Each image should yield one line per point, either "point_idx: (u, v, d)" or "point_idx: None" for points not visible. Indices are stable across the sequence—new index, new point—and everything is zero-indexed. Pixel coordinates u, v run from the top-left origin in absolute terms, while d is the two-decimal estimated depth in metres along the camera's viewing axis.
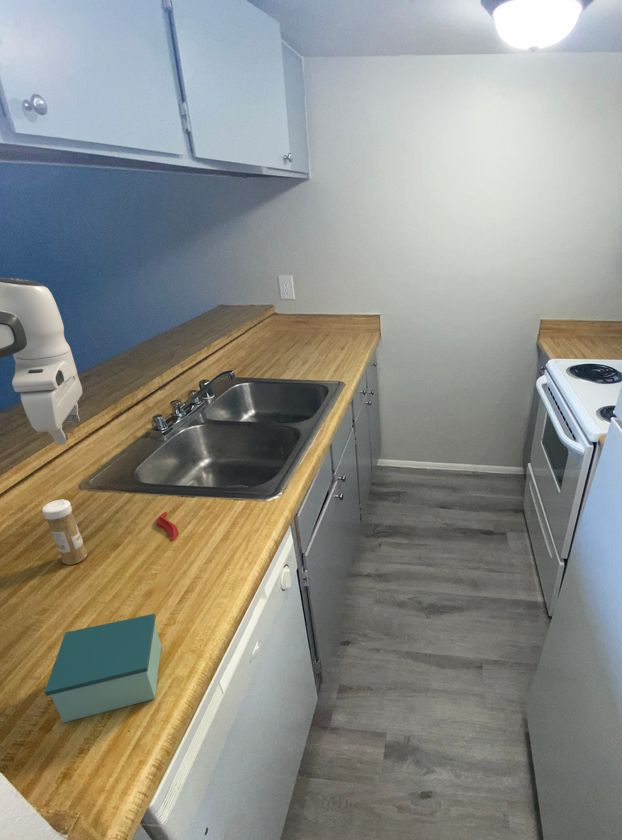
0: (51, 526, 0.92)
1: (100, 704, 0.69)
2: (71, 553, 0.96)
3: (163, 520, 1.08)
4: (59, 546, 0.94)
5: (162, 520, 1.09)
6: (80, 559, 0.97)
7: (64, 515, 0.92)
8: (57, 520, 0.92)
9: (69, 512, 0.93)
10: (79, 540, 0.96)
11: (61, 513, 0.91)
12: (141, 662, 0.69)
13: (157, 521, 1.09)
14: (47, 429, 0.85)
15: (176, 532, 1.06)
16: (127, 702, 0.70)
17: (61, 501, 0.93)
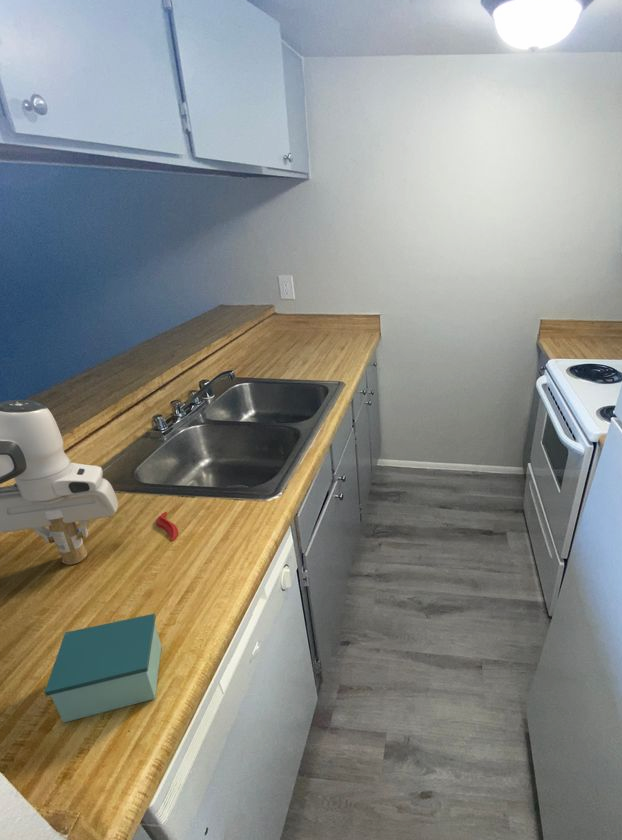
0: (51, 526, 0.92)
1: (100, 704, 0.69)
2: (71, 553, 0.96)
3: (163, 520, 1.08)
4: (59, 546, 0.94)
5: (162, 520, 1.09)
6: (80, 559, 0.97)
7: None
8: (57, 520, 0.92)
9: None
10: (78, 540, 0.96)
11: (60, 513, 0.91)
12: (141, 662, 0.69)
13: (157, 521, 1.09)
14: (117, 508, 0.97)
15: (176, 532, 1.06)
16: (127, 702, 0.70)
17: None
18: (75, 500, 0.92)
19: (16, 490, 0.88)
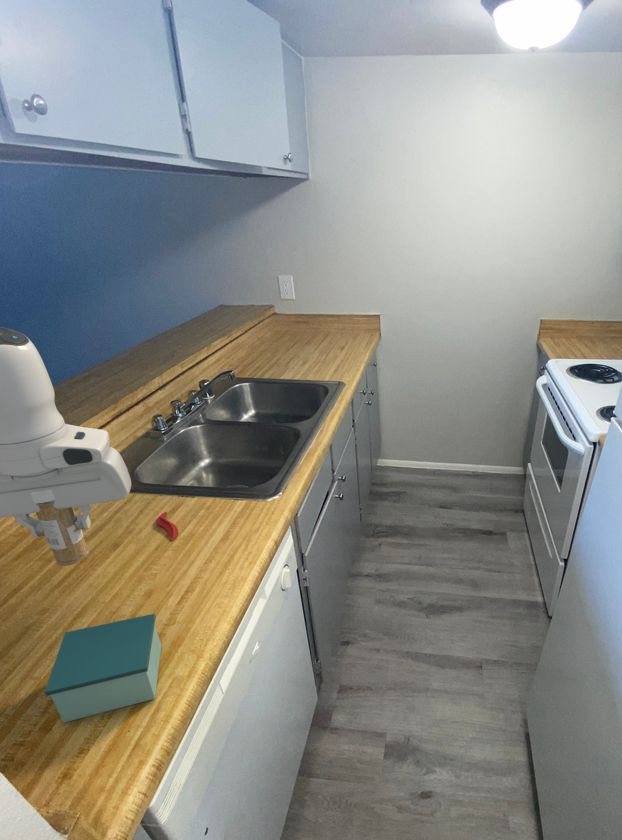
0: (38, 512, 0.66)
1: (100, 704, 0.69)
2: (67, 551, 0.70)
3: (163, 520, 1.08)
4: (50, 540, 0.68)
5: (162, 520, 1.09)
6: (80, 558, 0.71)
7: None
8: (47, 504, 0.66)
9: None
10: (77, 532, 0.70)
11: (52, 494, 0.65)
12: (141, 662, 0.69)
13: (157, 521, 1.09)
14: (130, 488, 0.71)
15: (176, 532, 1.06)
16: (127, 702, 0.70)
17: None
18: (72, 476, 0.66)
19: None
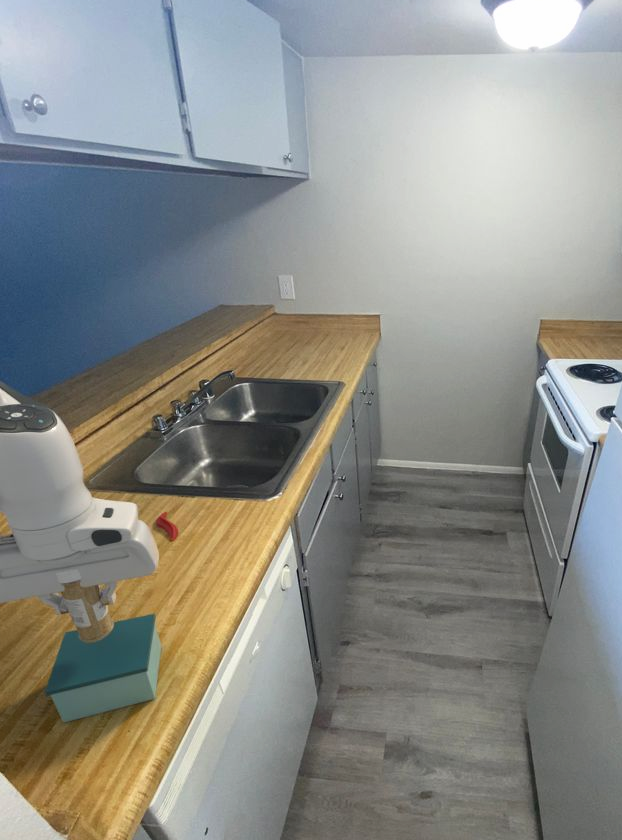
0: (63, 592, 0.63)
1: (100, 704, 0.69)
2: (92, 628, 0.66)
3: (163, 520, 1.08)
4: (75, 619, 0.65)
5: (162, 520, 1.09)
6: (104, 634, 0.68)
7: None
8: (73, 583, 0.62)
9: None
10: (103, 608, 0.67)
11: (78, 573, 0.62)
12: (141, 662, 0.69)
13: (157, 521, 1.09)
14: None
15: (176, 532, 1.06)
16: (127, 702, 0.70)
17: None
18: (100, 554, 0.62)
19: (12, 542, 0.59)
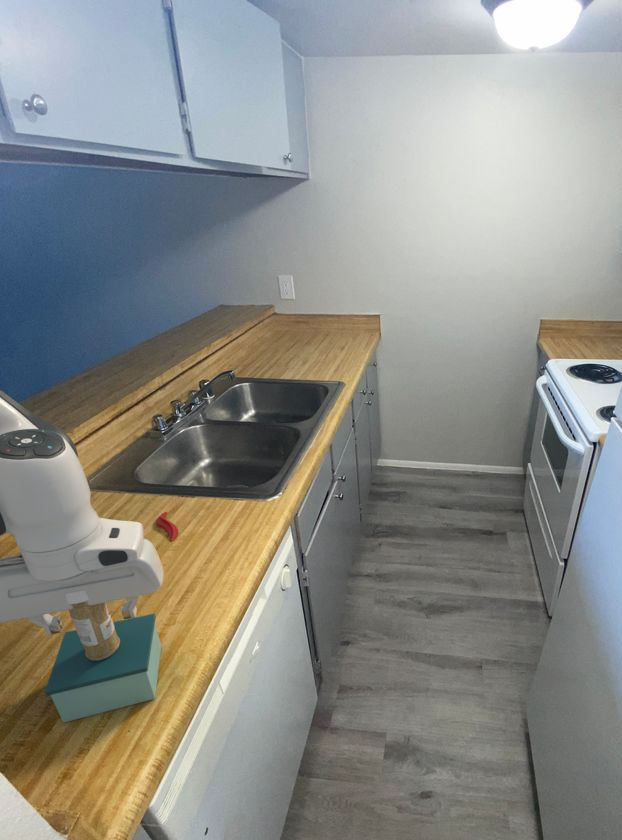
0: (72, 612, 0.65)
1: (100, 704, 0.69)
2: (99, 646, 0.68)
3: (163, 520, 1.08)
4: (82, 638, 0.67)
5: (162, 520, 1.09)
6: (111, 652, 0.70)
7: None
8: (81, 604, 0.64)
9: None
10: (109, 627, 0.69)
11: (86, 594, 0.64)
12: (141, 662, 0.69)
13: (157, 521, 1.09)
14: (162, 579, 0.69)
15: (176, 532, 1.06)
16: (127, 702, 0.70)
17: None
18: (106, 573, 0.64)
19: (21, 563, 0.60)
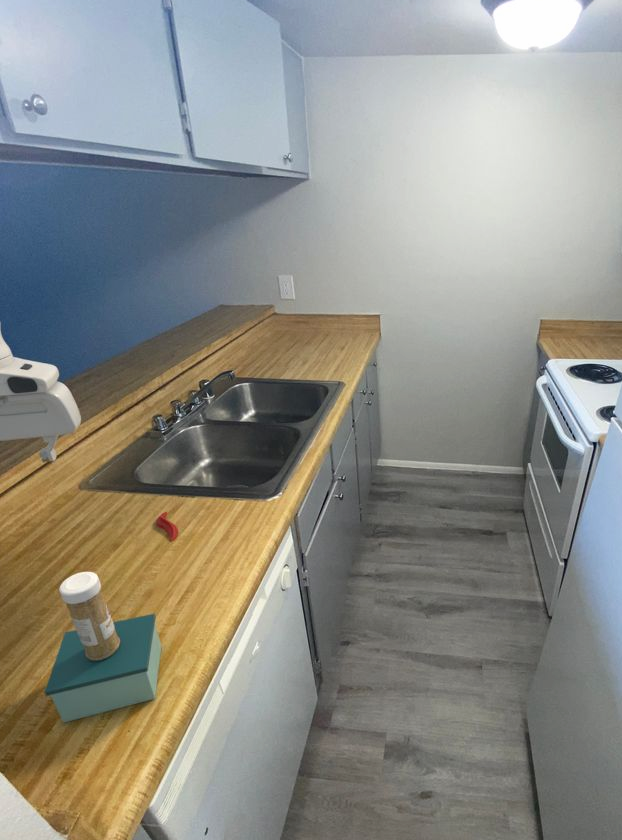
0: (72, 612, 0.65)
1: (100, 704, 0.69)
2: (99, 646, 0.68)
3: (163, 520, 1.08)
4: (82, 638, 0.67)
5: (162, 520, 1.09)
6: (111, 652, 0.70)
7: (91, 596, 0.64)
8: (81, 604, 0.64)
9: (97, 591, 0.65)
10: (109, 627, 0.69)
11: (86, 594, 0.64)
12: (141, 662, 0.69)
13: (157, 521, 1.09)
14: (79, 424, 0.73)
15: (176, 532, 1.06)
16: (127, 702, 0.70)
17: (86, 575, 0.66)
18: (19, 407, 0.67)
19: None
